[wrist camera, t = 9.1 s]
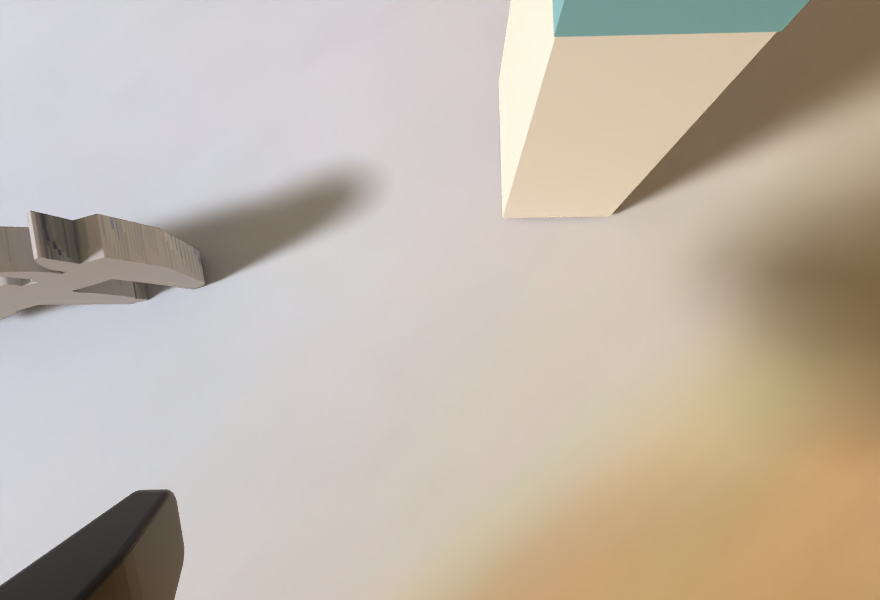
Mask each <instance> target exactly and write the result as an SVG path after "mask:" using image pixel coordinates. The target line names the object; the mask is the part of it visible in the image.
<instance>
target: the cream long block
mask: <svg viewBox="0 0 880 600" xmlns="http://www.w3.org/2000/svg"><path fill="white" fill-rule="evenodd" d="M809 1H810V0H511V4H510V11H509V18H508V24H507V31H506V38H505V44H504V51H503V58H502V64H501V71H500V78H499V108H500V143H501V179H502V215H503V218H538V217H589V216H610V215H611V214H612V213H613V212H614V211H615V210H616V209H617V208H618V207H619V206H620V204H621V203H622V202H623V201H624V200H625V199H626V198H627V197H628V196H629V195H630V193H631V192H632V191H633V190H634V189H635V188H636V187H637V186H638V185H639V183H640V182H641V181H642V180H643V179H644V178H645V177H646V176H647V175H648V174H649V172H650V171H651V170H652V169H653V168H654V167H655V166H656V165H657V164H658V163H659V161H660V160H661V159H662V158H663V157H664V156H665V155H666V154H667V153H668V151H669V150H670V149H671V148H672V147H673V146H674V145H675V144H676V143H677V142H678V140H679V139H680V138H681V137H682V136H683V135H684V134H685V133H686V132H687V130H688V129H689V128H690V127H691V126H692V125H693V124H694V123H695V122H696V121H697V119H698V118H699V117H700V116H701V115H702V114H703V113H704V112H705V111H706V110H707V108H708V107H709V106H710V105H711V104H712V103H713V102H714V101H715V100H716V98H717V97H718V96H719V95H720V94H721V93H722V92H723V91H724V90H725V89H726V87H727V86H728V85H729V84H730V83H731V82H732V81H733V80H734V79H735V78H736V76H737V75H738V74H739V73H740V72H741V71H742V70H743V69H744V68H745V66H746V65H747V64H748V63H749V62H750V61H751V60H752V59H753V58H754V57H755V55H756V54H757V53H758V52H759V51H760V50H761V49H762V48H763V47H764V45H765V44H766V43H767V42H768V41H769V40H770V39H771V38H772V37H773V36H774V34H775V33H776V32H781V31H782V30H783V29H784V28H785V27H786V26H787V25H788V24H789V23H790V22H791V21H792V19H793V18H794V17H795V16H796V15H797V14H798V13H799V12H800V11H801V10H802V9H803V7H804V6H805V5H806V4H807V3H808V2H809Z"/></svg>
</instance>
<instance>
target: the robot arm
mask: <svg viewBox="0 0 880 600" xmlns="http://www.w3.org/2000/svg"><path fill="white" fill-rule="evenodd" d="M183 560H184V542H183V536H182V530H181V524H180V518H179V512H178V506H177V501H176V498H175V496H174V493H173V492H171V491H170V490H167V489H165V490H138V491H135V492H134V493H132V494H130V495H129V496H128V497H126V498H125V499H123V500H122V501H120V502H119V503H118V504H116V505H115V506H113V507H112V508H110V509H109V510H108V511H106V512H105V513H103V514H102V515H100V516H99V517H98V518H96V519H95V520H93V521H92V522H90V523H89V524H88V525H86V526H85V527H83V528H82V529H80V530H79V531H78V532H76V533H75V534H73V535H72V536H70V537H69V538H68V539H66V540H65V541H63V542H62V543H60V544H59V545H58V546H56V547H55V548H53V549H52V550H50V551H49V552H48V553H46V554H45V555H43V556H42V557H40V558H39V559H38V560H36V561H35V562H33V563H32V564H30V565H29V566H28V567H26V568H25V569H23V570H22V571H20V572H19V573H18V574H16V575H15V576H13V577H12V578H10V579H9V580H8V581H6V582H5V583H3V584H2V585H0V600H174V598H175V594H176V590H177V586H178V582H179V578H180V574H181V570H182V566H183Z"/></svg>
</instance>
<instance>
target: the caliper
mask: <svg viewBox="0 0 880 600" xmlns="http://www.w3.org/2000/svg"><path fill="white" fill-rule="evenodd" d="M27 218H28V225H29V228H28V227H0V320H2V319H4V318H6V317H9V316H11V315H13V314H15V313H18V311H19V310H22V309H26V308H29V307H33V306H37V305H70V304H133V303H137V302H141V301H146V300H149V298H148V293H147V287H146V283H149V284H157V285H165V286H173V287H180V288H187V289H196V288H199V287H201V286H203V285H204V284H205V280H204V275H203V270H202V264H201V259H200V254H199V250H198V249H196V248H194V247H193V246H191V245H190V244H188V243H186V242H184V241H182V240H180V239H178V238H176V237H175V236H173V235H171V234H169V233H167V232H165V231H163V230H161V229H160V228H156V227H152V226H148V225H143V224H139V223H135V222H130V221H126V220H122V219H117V218H113V217H109V216H104V215H100V214H94V215H91V216H87V217H84V218H80V219H77V220H73V221H72V220H68V219H64V218H60V217H56V216H51V215H47V214H43V213H39V212H34V211H29V212H28V213H27Z"/></svg>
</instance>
